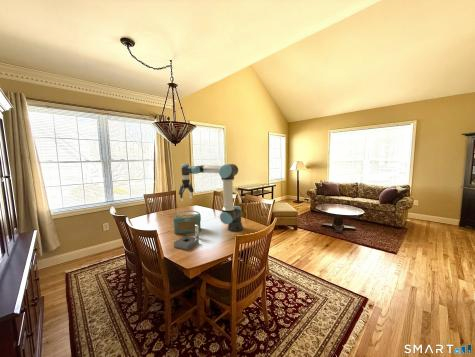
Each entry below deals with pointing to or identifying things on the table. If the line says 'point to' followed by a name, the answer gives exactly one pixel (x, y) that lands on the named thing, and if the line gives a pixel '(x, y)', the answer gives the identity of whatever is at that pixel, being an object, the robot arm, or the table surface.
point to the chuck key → (196, 231)
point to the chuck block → (186, 242)
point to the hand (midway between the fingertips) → (186, 199)
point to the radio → (186, 222)
